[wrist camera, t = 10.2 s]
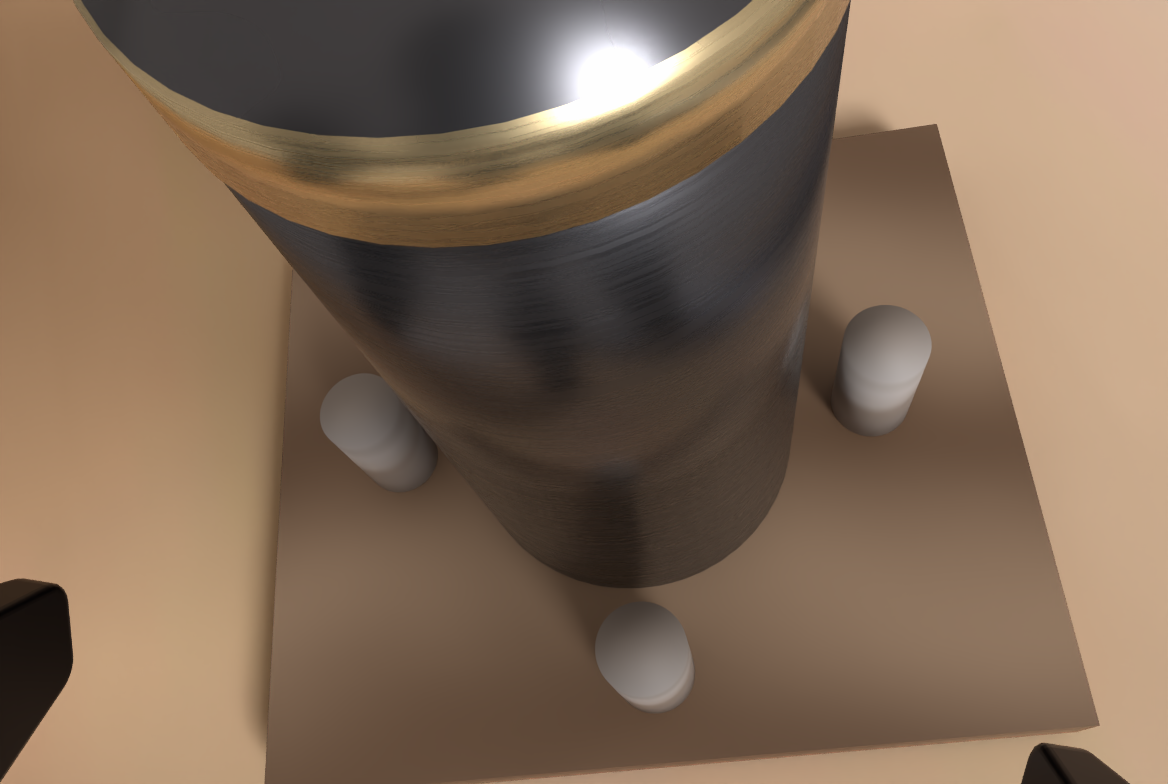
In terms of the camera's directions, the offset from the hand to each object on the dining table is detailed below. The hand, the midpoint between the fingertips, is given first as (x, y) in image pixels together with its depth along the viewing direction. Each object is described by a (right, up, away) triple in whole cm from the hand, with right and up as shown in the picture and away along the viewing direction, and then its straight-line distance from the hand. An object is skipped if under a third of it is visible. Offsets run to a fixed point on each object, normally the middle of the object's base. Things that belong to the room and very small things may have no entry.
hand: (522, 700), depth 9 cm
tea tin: (+1, +2, +10) cm, 10 cm away
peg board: (+2, +2, +11) cm, 11 cm away
